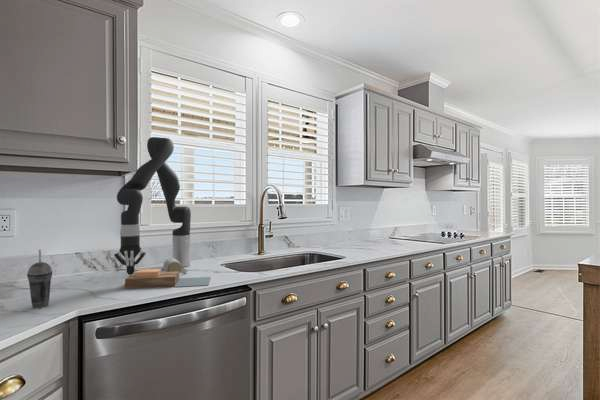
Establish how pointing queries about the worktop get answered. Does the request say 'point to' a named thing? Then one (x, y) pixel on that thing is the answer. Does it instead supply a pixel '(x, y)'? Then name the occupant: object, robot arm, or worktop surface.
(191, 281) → the mat
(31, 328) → the worktop surface
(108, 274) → the worktop surface
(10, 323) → the worktop surface
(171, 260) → the ceramic mug
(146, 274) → the orange tan rectangular block
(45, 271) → the beverage cup
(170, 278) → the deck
